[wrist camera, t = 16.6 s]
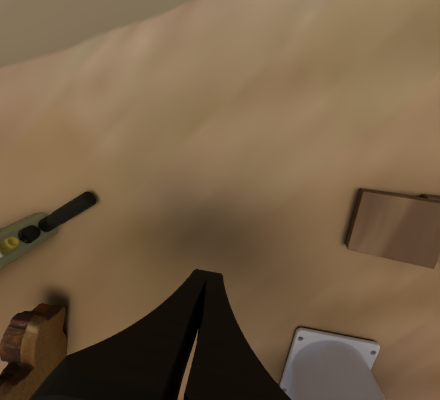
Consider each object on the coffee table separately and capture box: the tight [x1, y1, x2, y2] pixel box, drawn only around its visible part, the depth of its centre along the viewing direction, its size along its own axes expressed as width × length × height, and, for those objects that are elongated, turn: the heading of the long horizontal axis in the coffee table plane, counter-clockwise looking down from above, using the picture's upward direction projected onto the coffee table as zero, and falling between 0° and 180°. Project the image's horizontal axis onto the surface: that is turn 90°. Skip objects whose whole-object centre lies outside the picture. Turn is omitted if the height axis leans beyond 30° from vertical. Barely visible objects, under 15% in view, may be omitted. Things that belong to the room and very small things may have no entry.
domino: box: [345, 188, 440, 269], centre depth 19 cm, size 1×5×6 cm
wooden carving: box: [0, 303, 67, 400], centre depth 23 cm, size 16×5×10 cm, turn 170°
